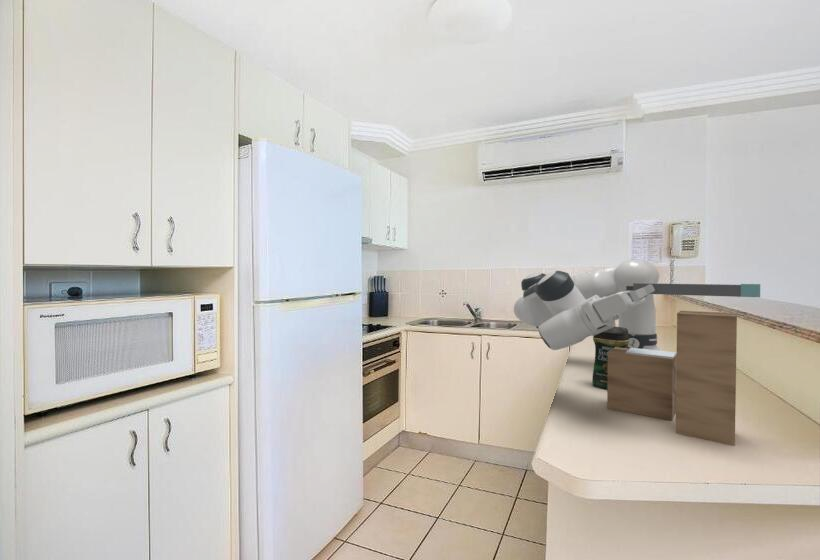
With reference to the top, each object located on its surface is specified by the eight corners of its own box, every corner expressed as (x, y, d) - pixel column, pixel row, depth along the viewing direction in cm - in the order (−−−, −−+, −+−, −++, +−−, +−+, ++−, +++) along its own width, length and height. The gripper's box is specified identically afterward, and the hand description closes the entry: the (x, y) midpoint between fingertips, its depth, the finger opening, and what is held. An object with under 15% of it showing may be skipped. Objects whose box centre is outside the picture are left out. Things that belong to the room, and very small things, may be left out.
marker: (627, 292, 97) (627, 282, 97) (759, 296, 82) (759, 284, 82) (625, 293, 95) (625, 282, 95) (760, 297, 80) (760, 284, 80)
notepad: (631, 349, 106) (631, 347, 106) (676, 354, 100) (676, 352, 100) (625, 353, 101) (625, 351, 101) (673, 358, 94) (673, 357, 94)
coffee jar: (588, 386, 123) (589, 325, 122) (598, 381, 128) (599, 323, 128) (623, 393, 116) (623, 329, 115) (631, 387, 121) (632, 326, 121)
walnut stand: (614, 400, 109) (615, 304, 109) (735, 422, 93) (736, 310, 93) (598, 416, 97) (599, 309, 96) (734, 445, 81) (736, 316, 80)
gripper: (615, 320, 107) (668, 296, 100) (594, 329, 92) (656, 301, 84) (603, 299, 109) (654, 274, 102) (580, 304, 93) (639, 275, 86)
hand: (655, 286), depth 93 cm, fingers closed on marker, 2 cm apart
